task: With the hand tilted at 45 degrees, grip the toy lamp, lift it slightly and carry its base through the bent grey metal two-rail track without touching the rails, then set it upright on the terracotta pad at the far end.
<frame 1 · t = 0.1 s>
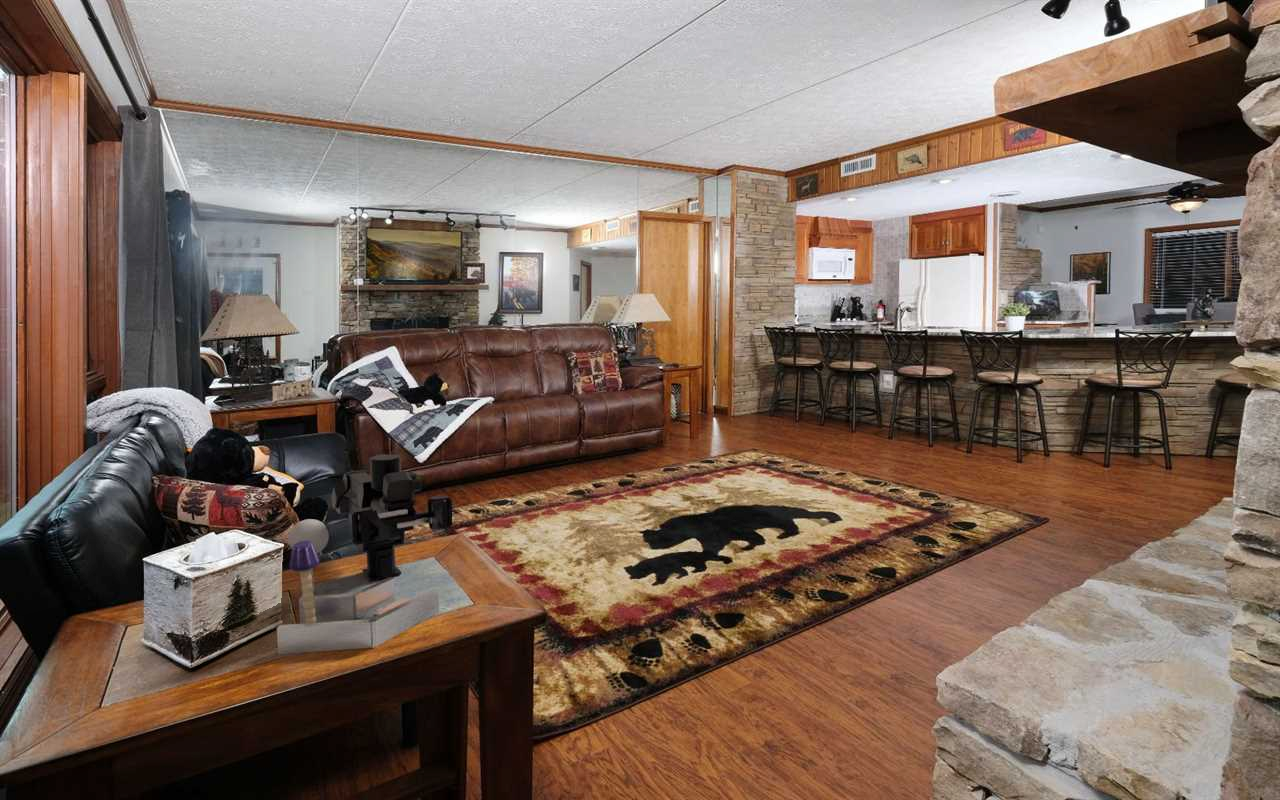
hand: (416, 530, 123), 17 cm above the table, tool horizontal, fingers open, 9 cm apart
toy lamp: (309, 636, 119), on the table
lollipop: (312, 593, 136), on the table
bent rails: (363, 631, 120), on the table
end pad: (402, 611, 128), on the table
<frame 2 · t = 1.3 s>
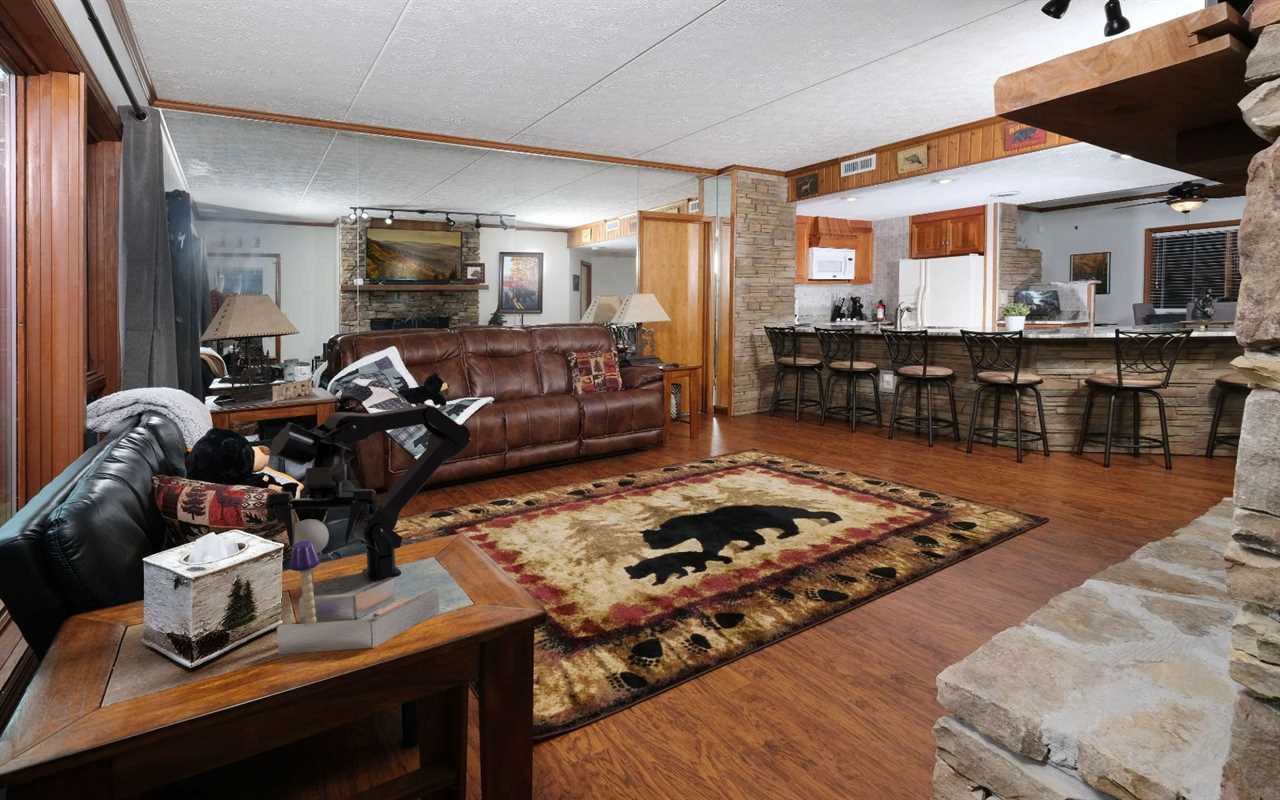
hand: (319, 544, 124), 14 cm above the table, tool tilted 45°, fingers open, 9 cm apart
nothing on the table moved.
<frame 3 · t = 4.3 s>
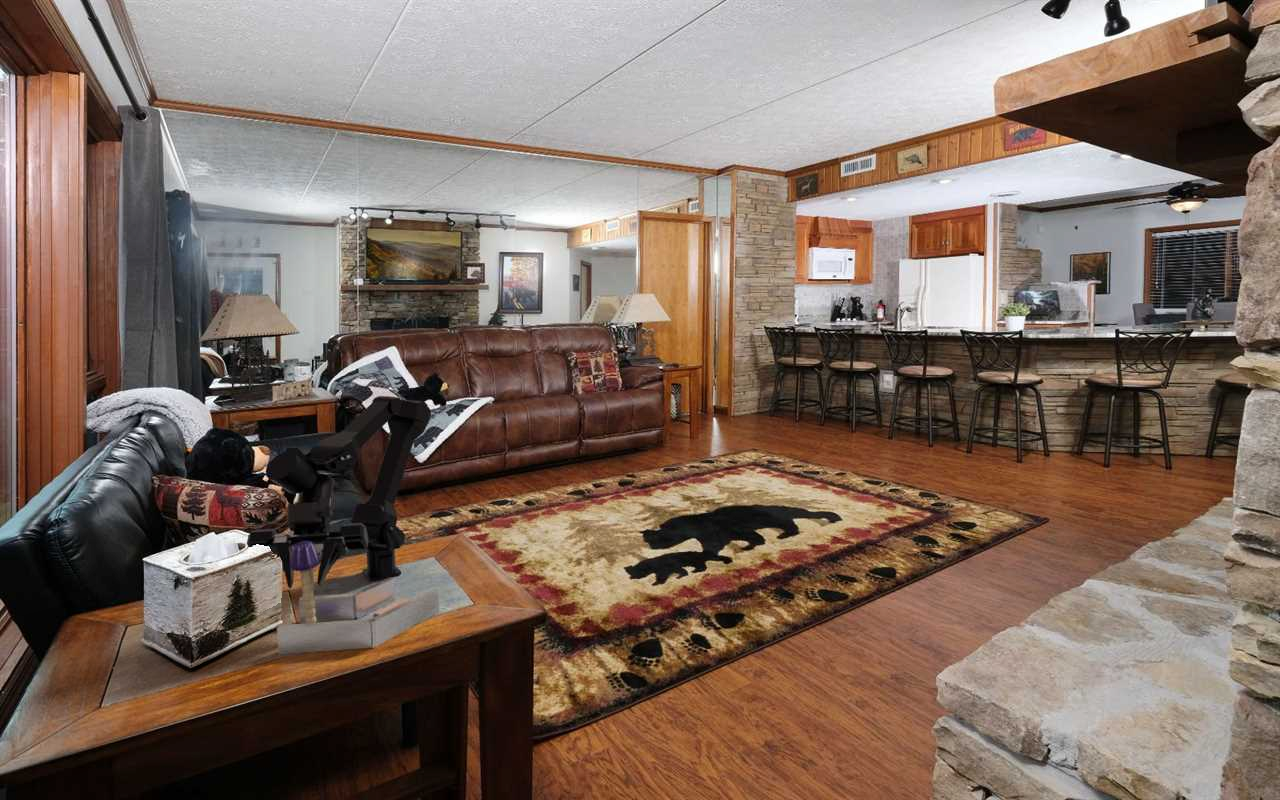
hand: (304, 585, 116), 10 cm above the table, tool tilted 45°, fingers closed on toy lamp, 4 cm apart
toy lamp: (309, 636, 119), on the table, touching gripper
everything else where it was.
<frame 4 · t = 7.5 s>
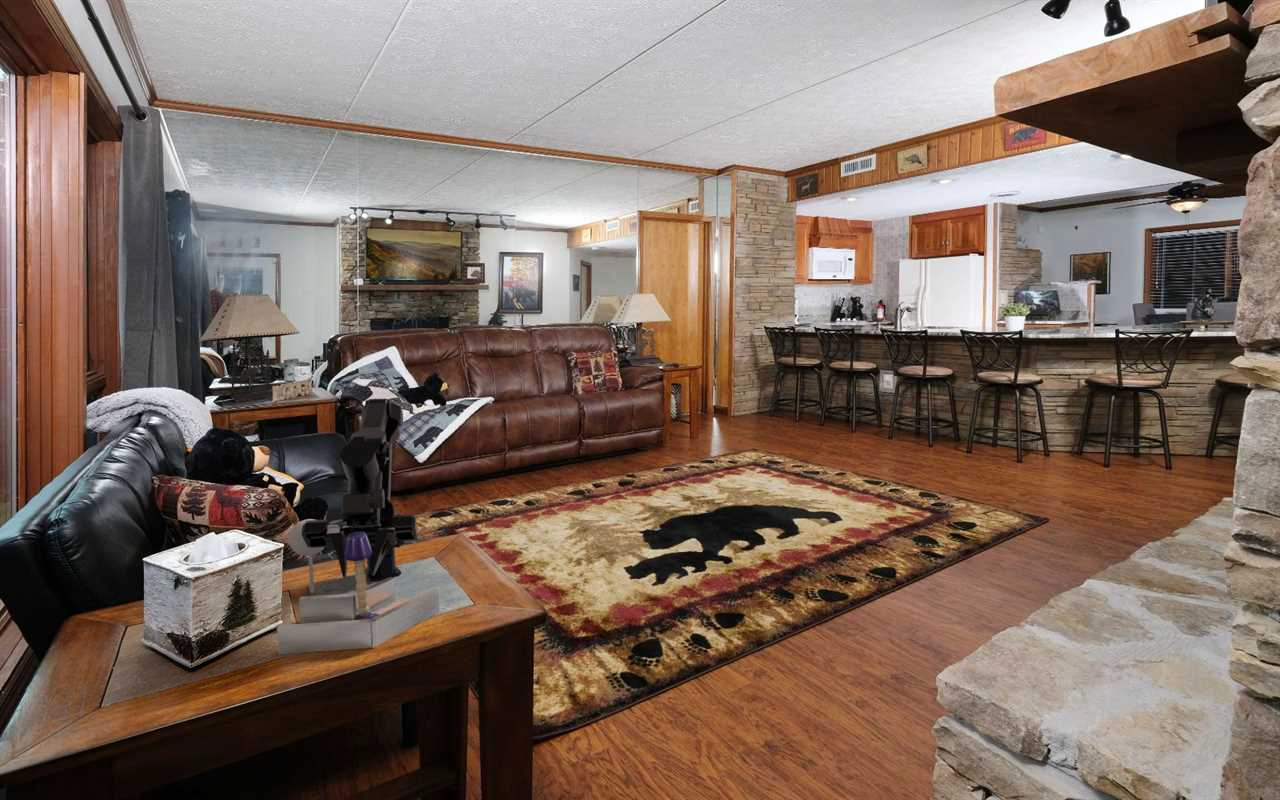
hand: (358, 575, 117), 11 cm above the table, tool tilted 45°, fingers closed on toy lamp, 4 cm apart
toy lamp: (362, 625, 120), point 1 cm above the table, touching gripper
everything else where it was.
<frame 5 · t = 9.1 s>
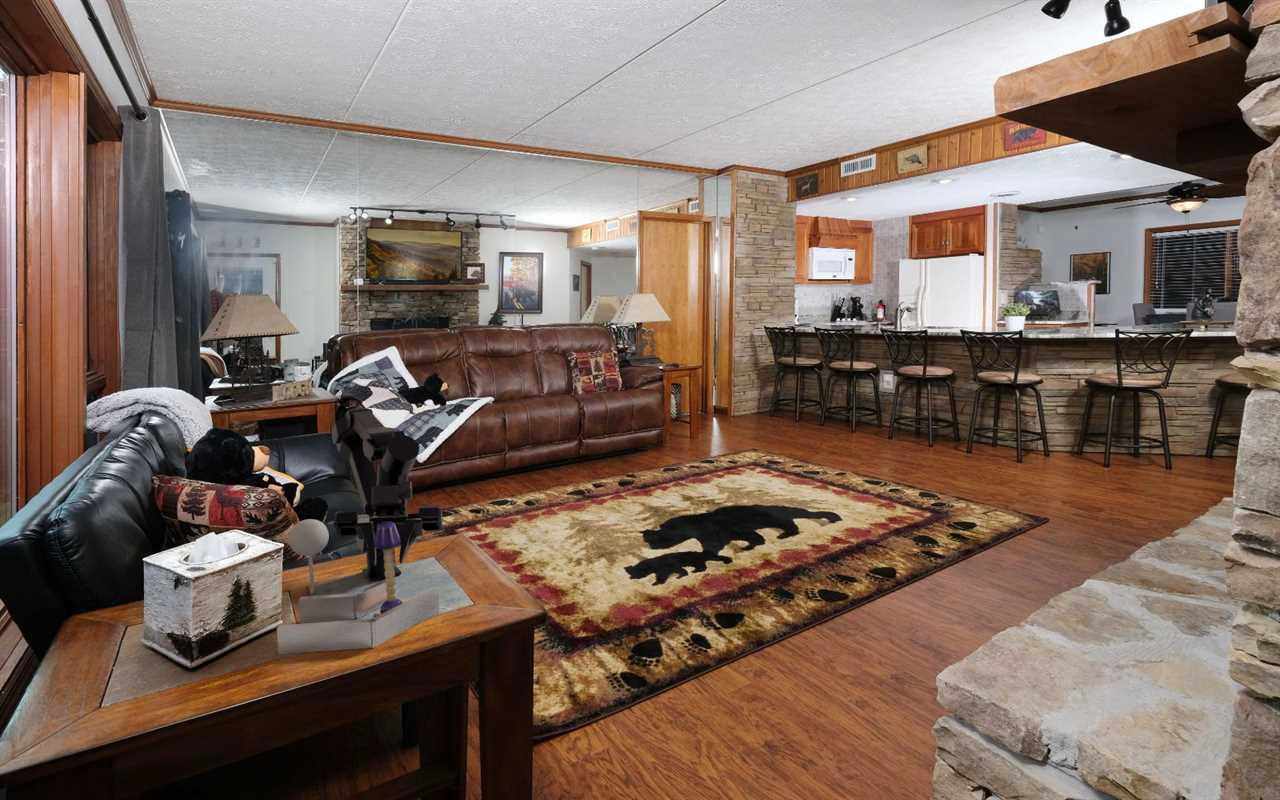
hand: (387, 563, 123), 11 cm above the table, tool tilted 45°, fingers closed on toy lamp, 4 cm apart
toy lamp: (390, 611, 126), point 1 cm above the table, touching gripper
everything else where it was.
when the fingers open (10 cm above the table, at t = 10.5 s): toy lamp stays where it is, resting on end pad.
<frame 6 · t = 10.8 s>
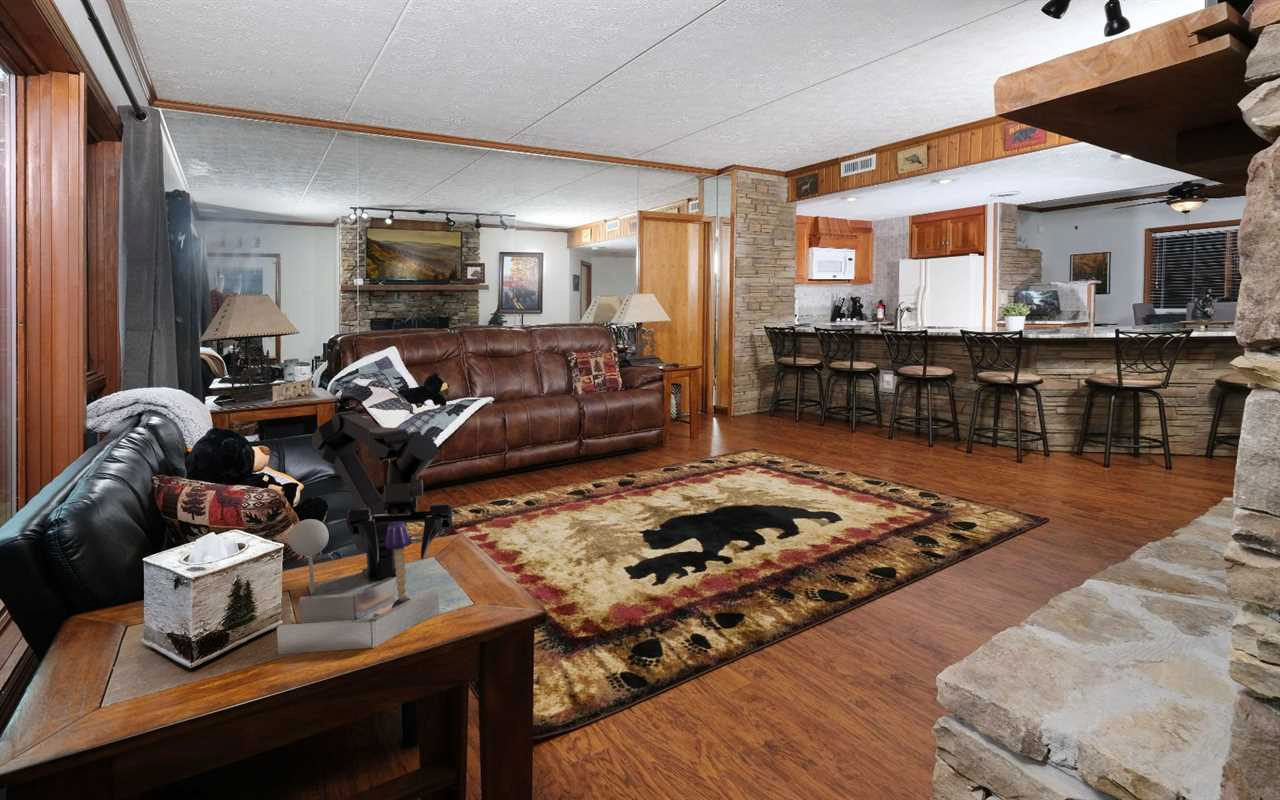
hand: (399, 560, 125), 11 cm above the table, tool tilted 45°, fingers open, 8 cm apart
toy lamp: (401, 610, 128), resting on end pad
everything else where it was.
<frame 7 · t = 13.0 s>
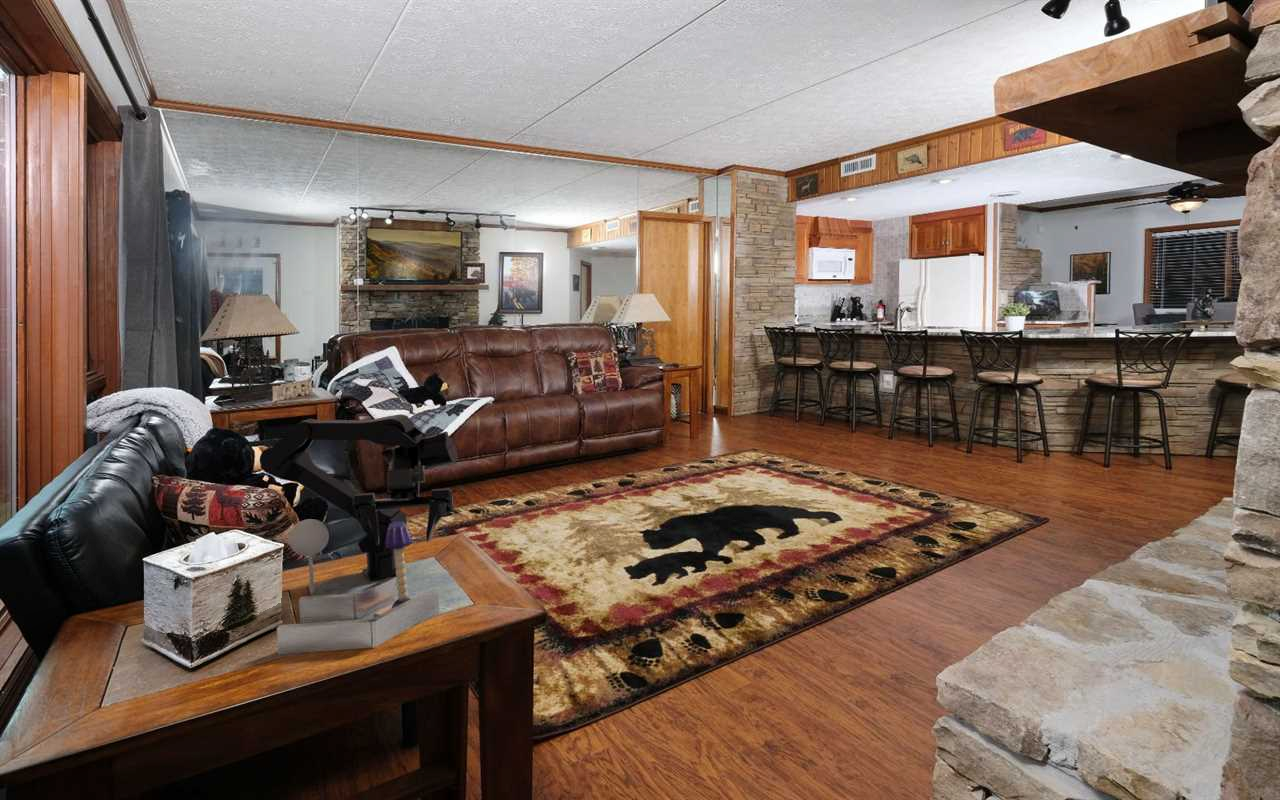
hand: (402, 542, 132), 12 cm above the table, tool tilted 45°, fingers open, 9 cm apart
nothing on the table moved.
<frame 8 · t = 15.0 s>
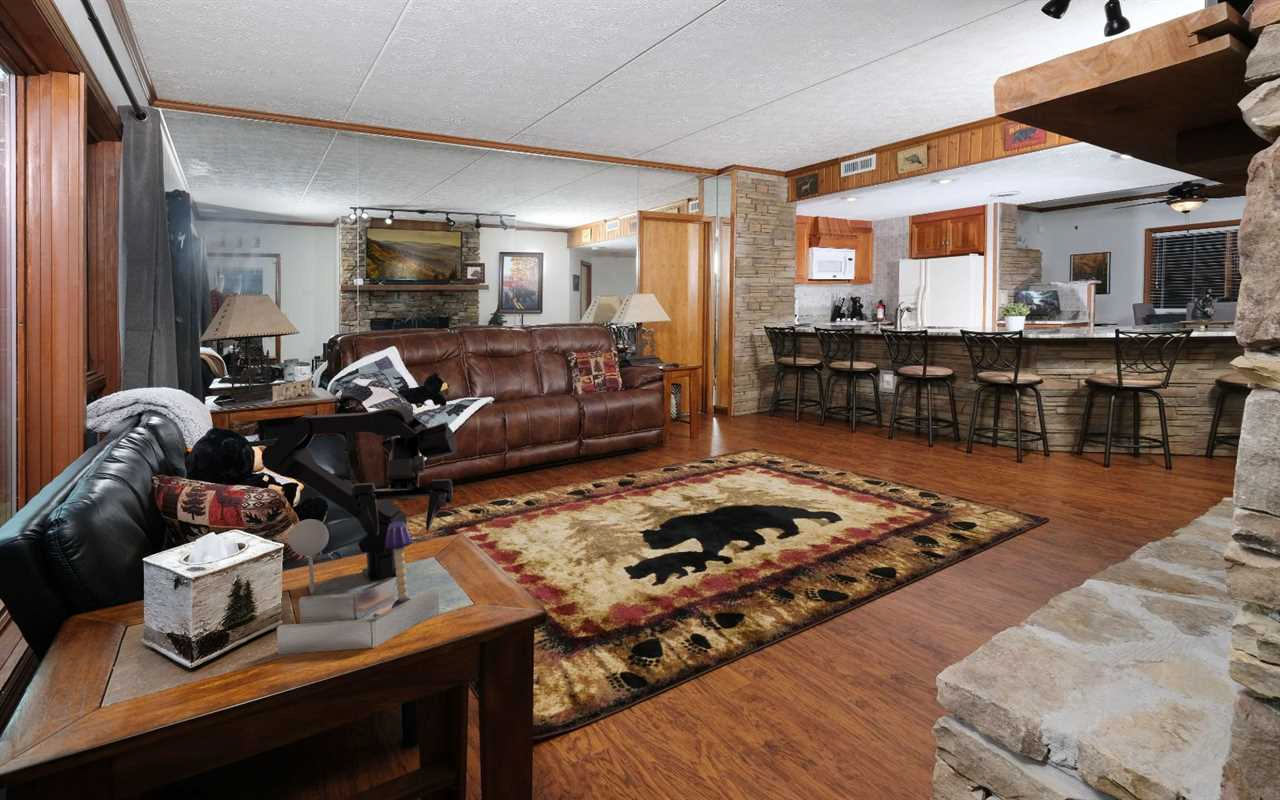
hand: (402, 532, 132), 14 cm above the table, tool tilted 45°, fingers open, 9 cm apart
nothing on the table moved.
at the end: toy lamp 0.2 cm from the target spot, resting on end pad; toy lamp tilted 0°; toy lamp touching end pad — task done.
